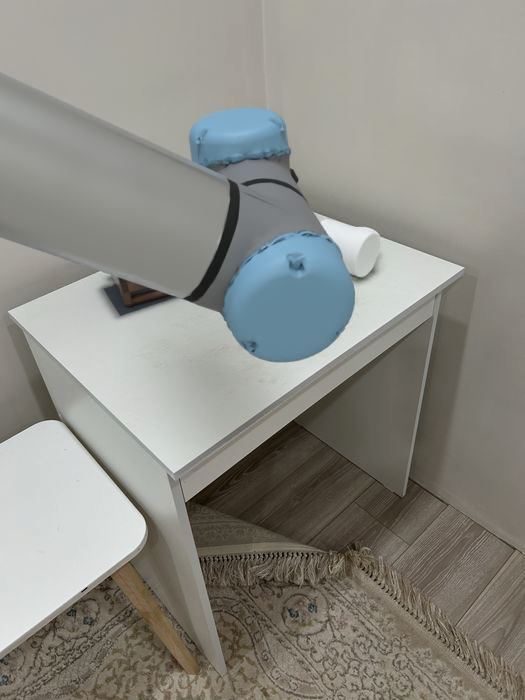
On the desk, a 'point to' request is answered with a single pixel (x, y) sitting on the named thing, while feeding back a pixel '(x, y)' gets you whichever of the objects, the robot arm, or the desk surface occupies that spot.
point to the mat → (117, 298)
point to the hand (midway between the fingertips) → (146, 180)
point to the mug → (354, 245)
